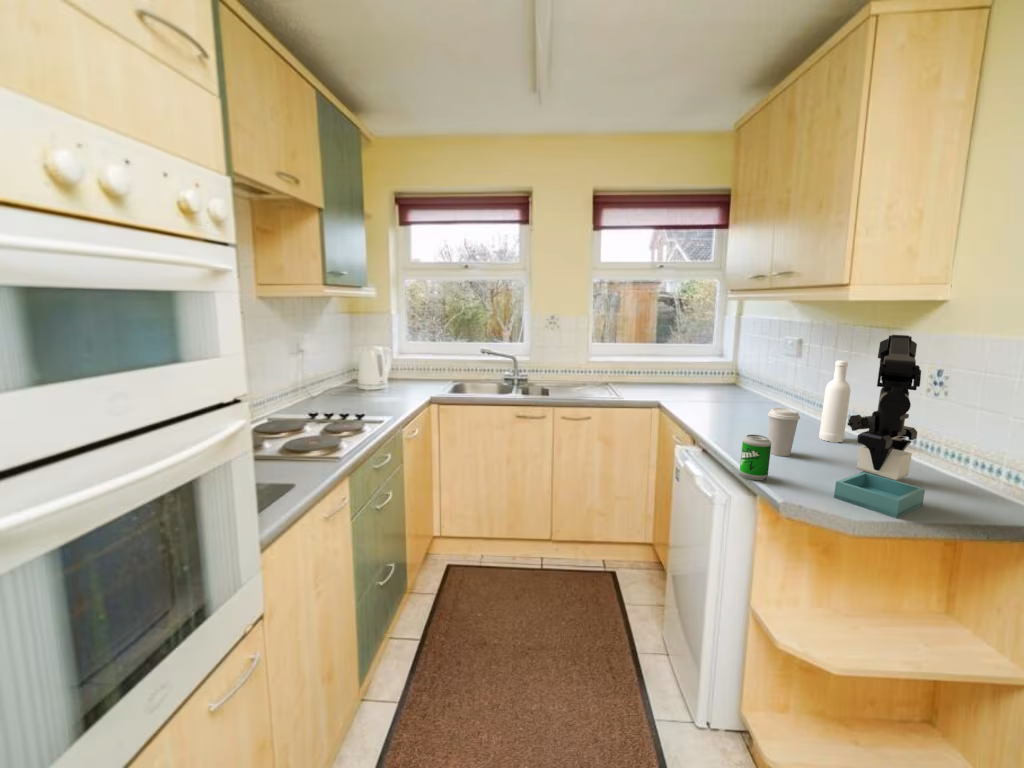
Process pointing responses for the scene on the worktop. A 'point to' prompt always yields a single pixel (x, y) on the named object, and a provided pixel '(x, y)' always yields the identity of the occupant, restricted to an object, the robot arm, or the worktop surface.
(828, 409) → the bottle
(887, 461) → the small crate
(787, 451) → the coffee cup
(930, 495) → the worktop surface
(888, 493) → the big crate
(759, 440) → the soda can
